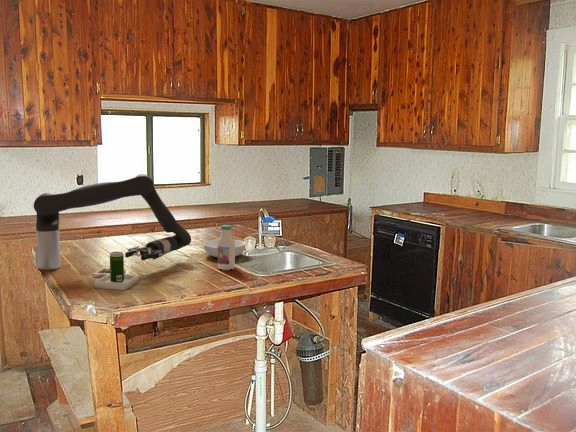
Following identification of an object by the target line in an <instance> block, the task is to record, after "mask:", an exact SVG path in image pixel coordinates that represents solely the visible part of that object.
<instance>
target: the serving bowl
mask: <svg viewBox="0 0 576 432" xmlns="http://www.w3.org/2000/svg"><path fill="white" fill-rule="evenodd" d="M219 239H220V238H218V239H217V238H216V239H210V240H207V241H205V242H204V243H203V247H204V251H205V252H206V253H207V254H208V255H209V256H211V257H213V258H217V257H218V242H219ZM234 243H235V258H236V257H238V256H240V255H242V254H243V253H244V251H245V248H246V245H247V243H246V242H245V241H243V240H239V239H234Z"/></svg>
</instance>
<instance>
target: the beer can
mask: <svg viewBox="0 0 576 432" xmlns="http://www.w3.org/2000/svg"><path fill="white" fill-rule="evenodd" d="M124 258H125V254H124V253H123V251H112V252H110V253H109V268H110V272H109V273H110V281H111V282H116V283H122V282H124V274H125V273H124V269H125V262H124V260H125V259H124Z"/></svg>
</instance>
